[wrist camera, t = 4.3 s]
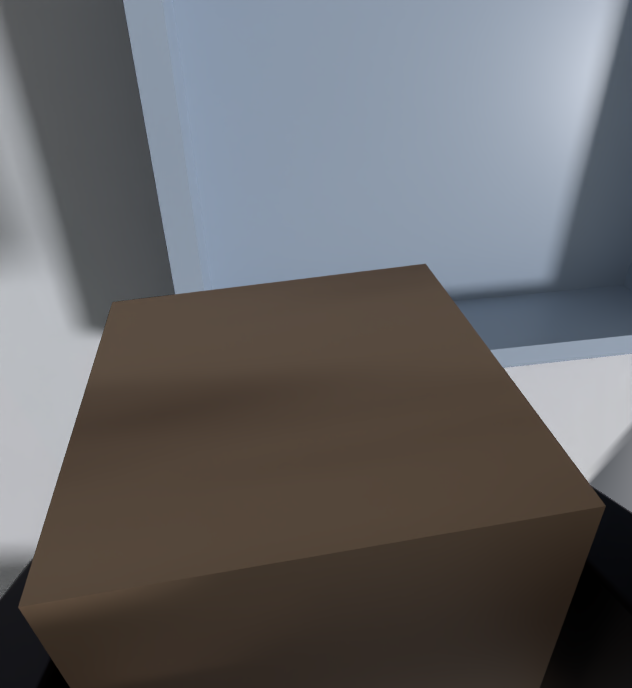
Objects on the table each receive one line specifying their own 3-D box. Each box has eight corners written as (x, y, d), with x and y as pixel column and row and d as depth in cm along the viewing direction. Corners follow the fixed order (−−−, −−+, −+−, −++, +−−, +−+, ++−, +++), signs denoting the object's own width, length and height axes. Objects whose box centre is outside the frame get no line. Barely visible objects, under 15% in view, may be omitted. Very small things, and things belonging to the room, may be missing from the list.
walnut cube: (412, 475, 12) (520, 742, 8) (176, 512, 11) (156, 820, 7) (425, 263, 9) (605, 505, 5) (112, 301, 8) (17, 608, 4)
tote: (626, 294, 23) (696, 346, 20) (197, 334, 21) (194, 401, 17) (769, -136, 15) (922, -170, 12) (121, -142, 13) (90, -183, 10)
